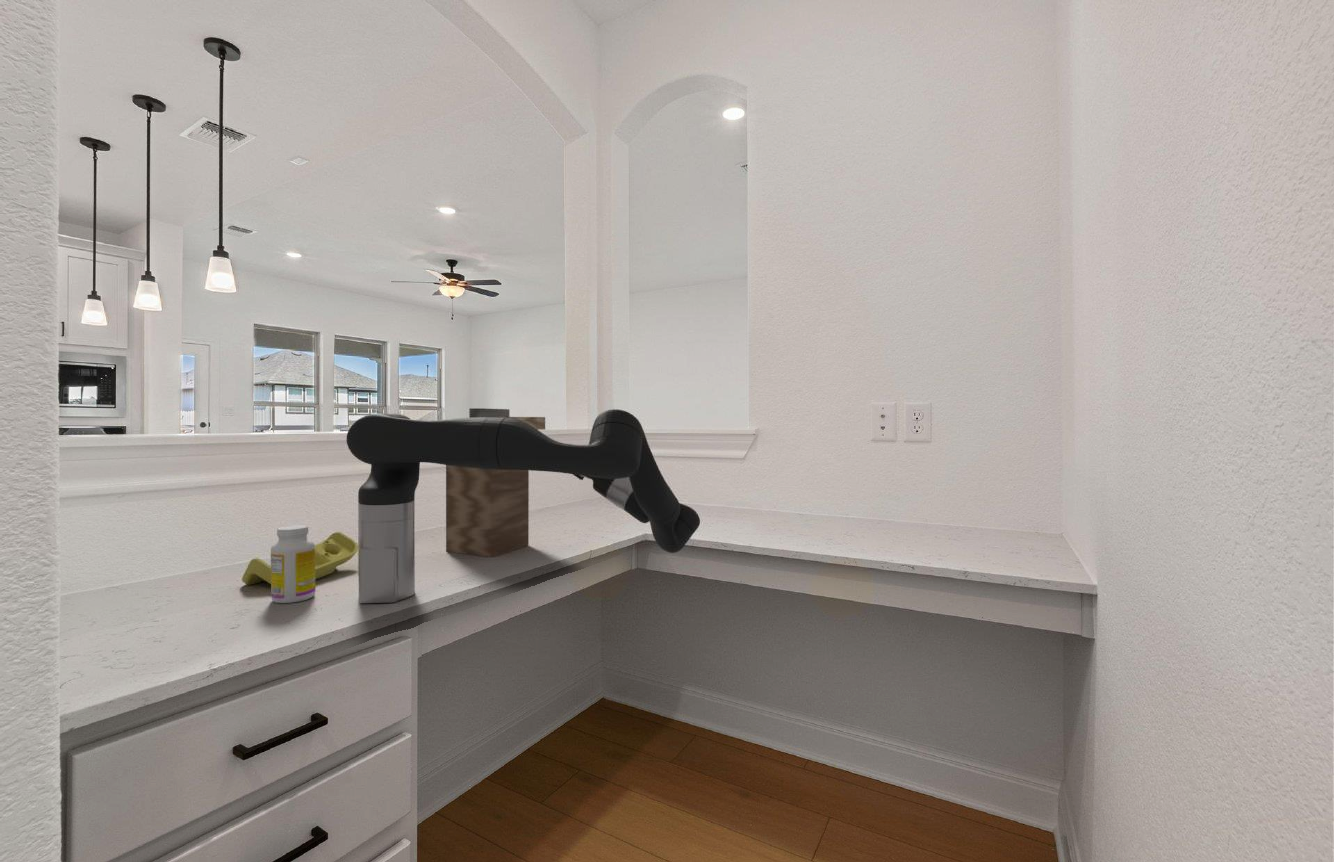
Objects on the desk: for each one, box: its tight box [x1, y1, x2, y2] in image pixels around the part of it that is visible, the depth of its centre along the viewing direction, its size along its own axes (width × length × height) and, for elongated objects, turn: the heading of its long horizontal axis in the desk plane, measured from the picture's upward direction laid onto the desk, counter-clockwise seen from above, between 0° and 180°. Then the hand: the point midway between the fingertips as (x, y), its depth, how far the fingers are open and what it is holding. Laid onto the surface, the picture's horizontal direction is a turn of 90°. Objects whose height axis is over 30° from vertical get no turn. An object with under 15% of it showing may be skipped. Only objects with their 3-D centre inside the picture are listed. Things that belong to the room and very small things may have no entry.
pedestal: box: [445, 465, 530, 558], centre depth 144 cm, size 14×14×30 cm
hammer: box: [468, 407, 546, 431], centre depth 140 cm, size 18×10×5 cm, turn 67°
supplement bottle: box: [270, 524, 316, 604], centre depth 103 cm, size 7×7×13 cm
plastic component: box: [241, 531, 358, 586], centre depth 118 cm, size 20×7×10 cm
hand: (565, 449), depth 134 cm, fingers open, 8 cm apart
